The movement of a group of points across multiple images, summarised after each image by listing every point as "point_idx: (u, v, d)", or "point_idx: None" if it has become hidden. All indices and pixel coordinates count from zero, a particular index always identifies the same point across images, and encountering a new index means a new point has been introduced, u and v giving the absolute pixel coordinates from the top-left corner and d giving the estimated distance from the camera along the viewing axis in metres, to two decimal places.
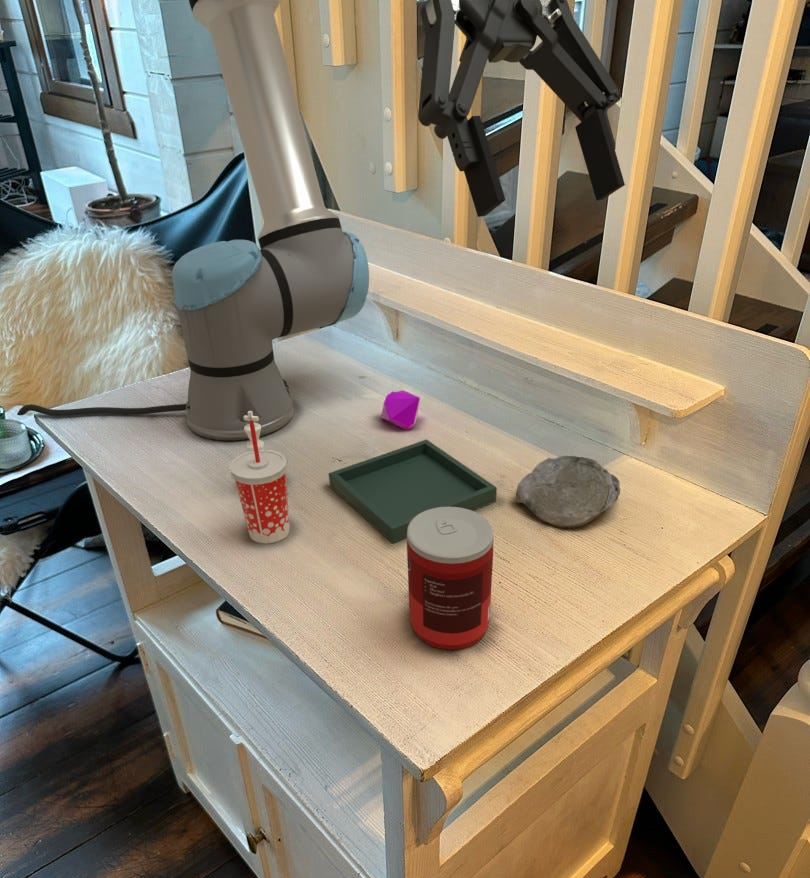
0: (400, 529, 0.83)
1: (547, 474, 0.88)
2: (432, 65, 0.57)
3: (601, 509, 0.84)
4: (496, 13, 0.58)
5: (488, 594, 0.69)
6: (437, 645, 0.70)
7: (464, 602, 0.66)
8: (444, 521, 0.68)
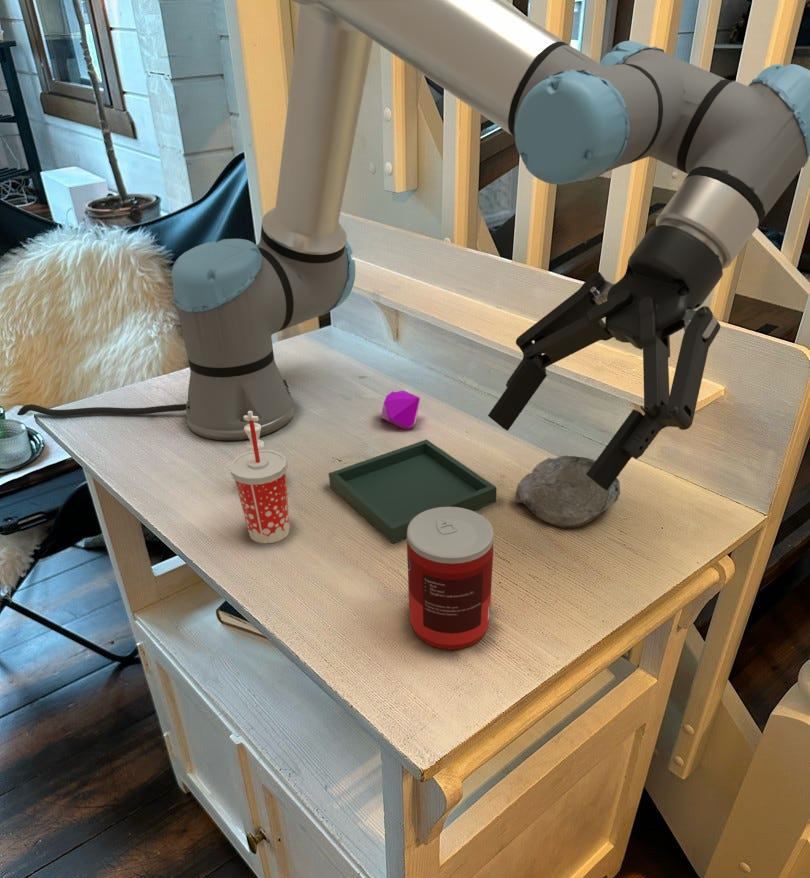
0: (400, 529, 0.83)
1: (547, 474, 0.88)
2: (696, 383, 0.61)
3: (601, 509, 0.84)
4: None
5: (488, 594, 0.69)
6: (437, 645, 0.70)
7: (464, 602, 0.66)
8: (444, 521, 0.68)
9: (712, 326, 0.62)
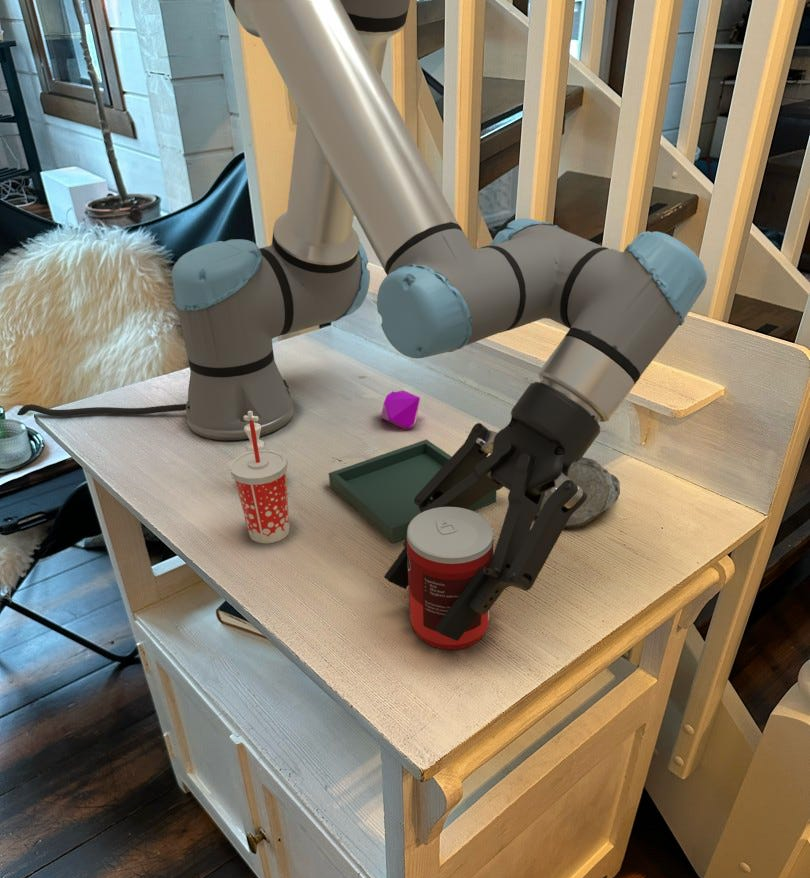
0: (400, 529, 0.83)
1: None
2: (545, 551, 0.64)
3: (601, 509, 0.84)
4: None
5: None
6: (437, 645, 0.70)
7: None
8: (444, 521, 0.68)
9: (575, 499, 0.63)
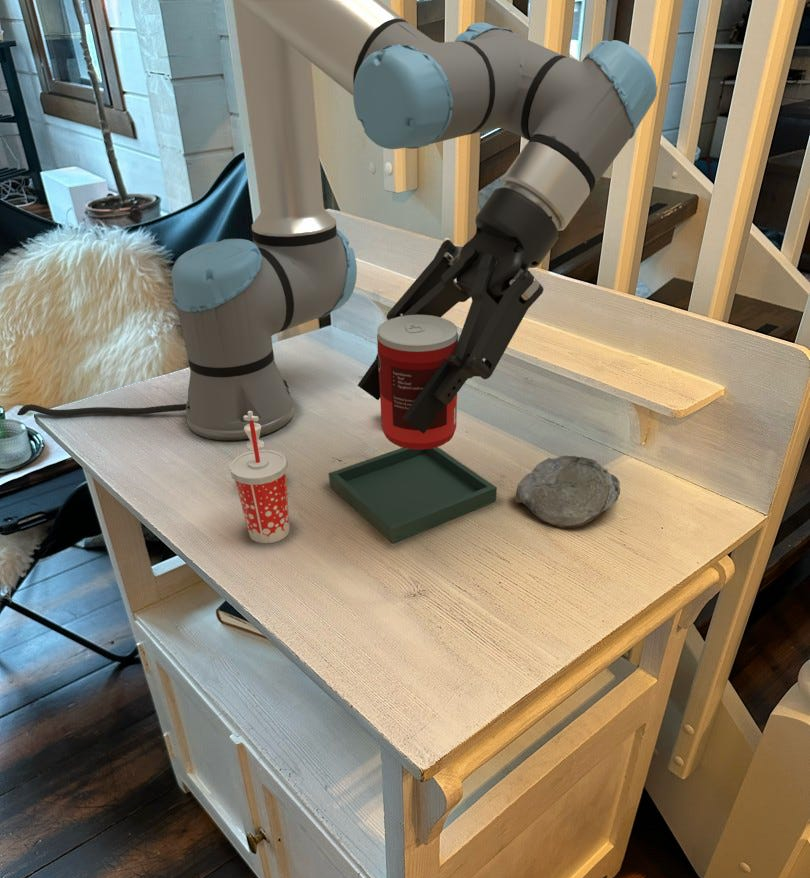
0: (400, 529, 0.83)
1: (547, 474, 0.88)
2: (503, 339, 0.68)
3: (601, 509, 0.84)
4: None
5: None
6: (406, 444, 0.75)
7: None
8: (413, 325, 0.73)
9: (532, 290, 0.68)
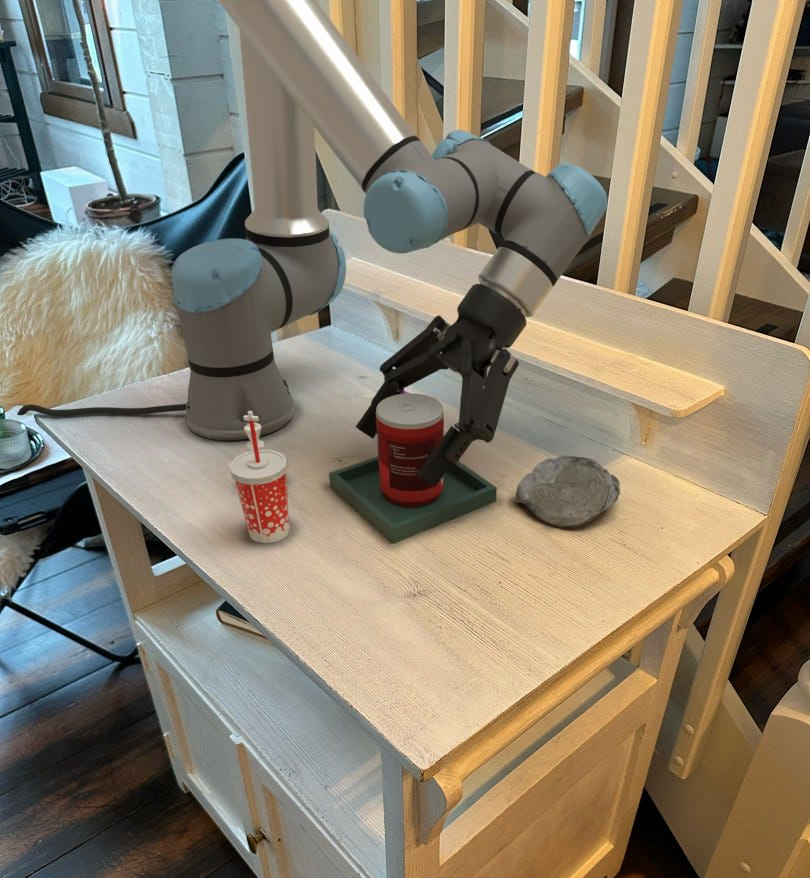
0: (400, 529, 0.83)
1: (547, 474, 0.88)
2: (497, 407, 0.81)
3: (601, 509, 0.84)
4: None
5: None
6: (400, 502, 0.89)
7: (420, 463, 0.85)
8: (406, 403, 0.87)
9: (511, 363, 0.81)
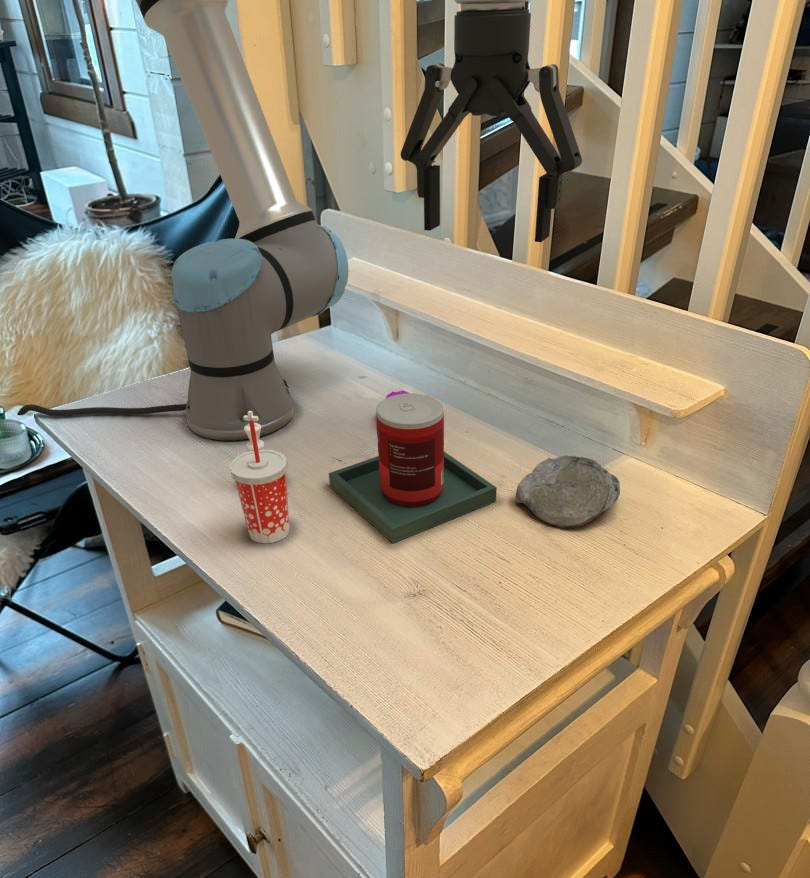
0: (400, 529, 0.83)
1: (547, 474, 0.88)
2: (569, 128, 0.77)
3: (601, 509, 0.84)
4: None
5: (440, 460, 0.87)
6: (400, 502, 0.89)
7: (420, 463, 0.85)
8: (406, 403, 0.87)
9: (555, 75, 0.75)
